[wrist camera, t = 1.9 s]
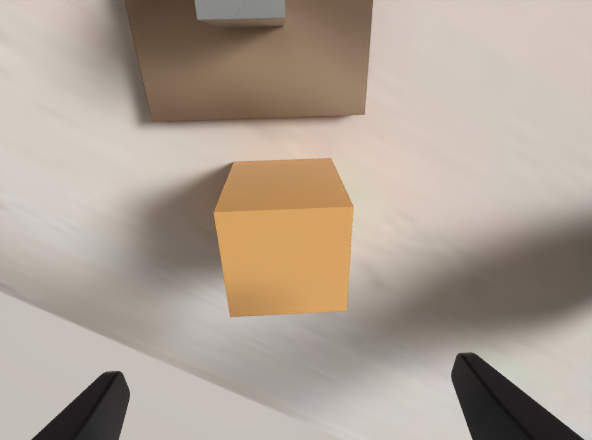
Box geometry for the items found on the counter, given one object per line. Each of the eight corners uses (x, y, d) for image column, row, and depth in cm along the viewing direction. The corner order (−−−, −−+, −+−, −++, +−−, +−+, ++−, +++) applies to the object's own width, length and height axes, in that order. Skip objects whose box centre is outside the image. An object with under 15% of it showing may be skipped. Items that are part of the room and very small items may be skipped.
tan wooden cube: (328, 241, 20) (346, 311, 15) (243, 244, 20) (230, 317, 14) (331, 158, 17) (353, 206, 12) (233, 161, 17) (213, 212, 12)
